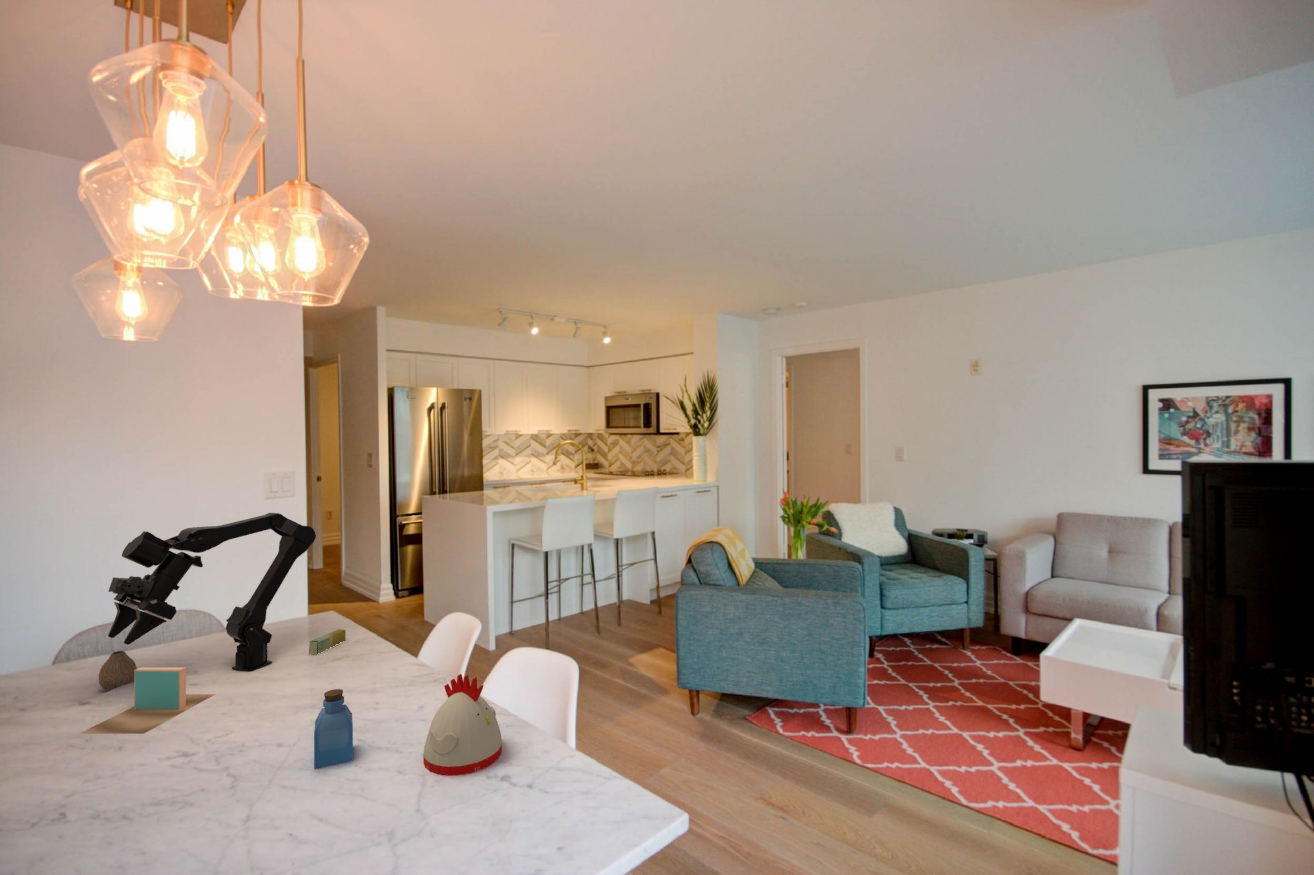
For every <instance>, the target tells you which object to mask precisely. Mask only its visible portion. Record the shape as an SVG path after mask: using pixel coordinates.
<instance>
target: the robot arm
mask: <svg viewBox="0 0 1314 875" xmlns="http://www.w3.org/2000/svg"><path fill="white" fill-rule="evenodd" d="M268 530H272V531H273V532H274V533H275V534H276V535H278V536H280V540H279V542H278V544H279V545H278V552H277V554H276V555H275V557H274V559H273V561H272V562H271V563H270V566H269V568H268V569H267V570H266V572H265V574H264V576H263V577H262V579H261V581H260V583H259V584H258V585H257V586H256V588H255V590H254V592H253V594H252V596H250V599H249V600H248V602H247V603H246V604H244V605H243V606H241V607H240V606H235V607H234V608H233V610H232V611H231V615H230V616H229V617H228V618H227V619H226V620H225V621H226V623H227V624H226V626H225V631H226V634H227V635H228V636H229V637H230V638H232V639H233V641H234V643H236V644H237V643H238V645H236V652H235V659H234V660H235V662H234V663H235V665H233V666H232V667H231V668H232V670H237V671H246V672H252V671H255V670H257V669H260V668H262V667H265V666H269V665H270V664H272V663H273V661H272V660H268V644H270V643H271V640H272V636H273V634H272V633H271V632H269V631H268V630H266V629H265V628H264V625H265V623H266V621H267V620H266V619H267V611H268V610H267V609H268V608H269V606H270V604H271V603H272V600H273V599H274V597H275V596H276V594H277V592H278V591H279V589H280V587H281V585H282V584H283V582H284V581H285V578H286V577H287V575H288V574H289V572H290V570H291V569H292V567H293V565H294V564H295V562H296V561H297V559H298V558H299V557H301V556H302V555H303V554H305V553H306V552H307V551H308V549H310V547H311V546H312V545H313V544H314V543H315V540H316V537H317V534H316V532H315V531H316V530H314V528H312V527H311V526H309V525H303V524H300V523H298V522H296V521H294V520H292V519H290V518H288V517H286V516H284V515H283V514H282V513H279V512H267V513H266V514H263V515H258V516H253V517H249V518H246V519H242V520H237V521H233V522H229V523H225V524H221V525H208V526H193V527H187V528H184V529H182V530H181V531H180V532H179V533H178V535H175V536H173V537H170V538H167V539H164V540H163V539H162V538H160V537H157V536H156V535H155V534H153V533H151V532H149V531H145V530H144V531H142V532H141V534H140V535H137V536H136V537H135V538H133V539H132V540H131V541H129V542H128V543H127V544H126V546H125V547H124V549H123V551H122V552H121V557H122V558H124V559H127V560H129V561H131V562H133V563H136V564H138V565H141V566H142V567H145V568H152V567H153V566H155V567H156V568H155V569H154V570H153V572H152V573H151V574H145V575H144V576H143V578H142V577H141V576H133V575H130V576H128V577H115V576H114V577H112V579H111V582H110V585H109V588H108V593H111V592H112V594H115V597H114V598H113V600H114V602H113V603H114V605H115V608H116V610H117V611H116V615H115V617H114V621H113V623H112V625H111V627H110V629H109V632H108V635H107V637H108V638H111V639H113V638H115V637H117V636H118V635H120V634H121V633H122V632H123V631H125V629H127V628H128V627H130V625H132V624H133V625H132V627H131V628H130V631H129V632H128V634H127V635H126V636H125V639H124V641H123V644H125V645H131V644H133V643H134V642H135V641H137V640H138V639H140V638H142V637H143V636H145V635H146V634H147V633H149V632H151V631H152V630H154V629H156V628H157V627H159V626H161V625H162V624H164V623H166V622H167V620H170V621H172V619H173V618H174V617H175V615H176V614H177V608H176V606H175V605H171V604H169V603H168V602H166V600H167V599H168V598H169V597H170V595H171V594H172V592H173V591H178V590H179V588H180V587H181V586H179V585H178V584H180V582H181V581H182V579H183V578H184V577H185V575H186V574H187V573H188V572H189V570H190V569H191V568H192V566H193V567H198V568H203V566H204V564H203V561H202V556H201V555H194V556H192V555H190V554H188V553H187V552H189V553H195V554H199V553H205V552H206V551H209V550H211V549H214V548H216V547H218V546H220V545H221V544H223V543H225V542H227V541H230V540H234V539H237V538H240V537H245V536H249V535H252V534H256V533H260V532H265V531H268ZM171 549H172V550H175V551H180V552H177V553H175V552H173V551H171ZM184 551H185V552H184Z"/></svg>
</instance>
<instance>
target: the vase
mask: <svg viewBox="0 0 1314 875" xmlns="http://www.w3.org/2000/svg"><path fill="white" fill-rule="evenodd" d="M136 669H138V668H137V664H136V662H135V661H134V659H133V658H132V657H131V656H129V655H128V654H127V653H126V651H125V650H118V651H113V652H111V653H110V656H109V657H108V658H107V659H106V661H104V663H103V665H101V668H100V669H99V671H98V672H99V673H98V683H99V684H98V685H99V686H100V687H101V689H102V690H103V691H105V692H107V693H108V692H111V691H112V690H115V689H117V688H119V687H121V686H125V685H129V684H131V683H133V682H134V670H136Z"/></svg>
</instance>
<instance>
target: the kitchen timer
mask: <svg viewBox="0 0 1314 875" xmlns="http://www.w3.org/2000/svg"><path fill="white" fill-rule="evenodd" d="M483 689H484V684H482V685H480V686H479V687H478V679H477V676H475V677H474V678H472V679H471V683H470V678H469V674H467V675H464V677H463V675H462V673H460V674H458V675H457V677H456V679H455V678H453V679H451V680H450V684H449V683H447V684H444V691H445V693H446V696H447V699H446V700H445V701H444V702H443V703H441V705H440V706H439V708H438V710H437V711H436V713H435V714H434V716H433V718H432V720H431V723H430V726H429V730H428V733H427V735H426V738H425V743H424V746H423V755H422V757H423V766H424V768H425V769H426V770H427V771H428V772H430V773H431V774H434V775H437V776H438V775H439V776H445V777H447V776H448V777H449V776H450V777H451V776H462V775H463V776H464V775H468V774H473V773H475V772H478V771H482V770H484V769H485V768H489V767H490V766H491V765H493V764H494V763H495V762H496V761H498V760H499V758H500V757H501V755H502V751H503V742H502V741H503V740H502V732H501V729H500V726H499V724H498V720H497V718H496V715H497V713H496V709H495V708H494V707H493V706H491V705H489V703H488V702H487V701H486V700H485V698H483V697H482V696H481V693H482V692H483Z"/></svg>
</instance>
